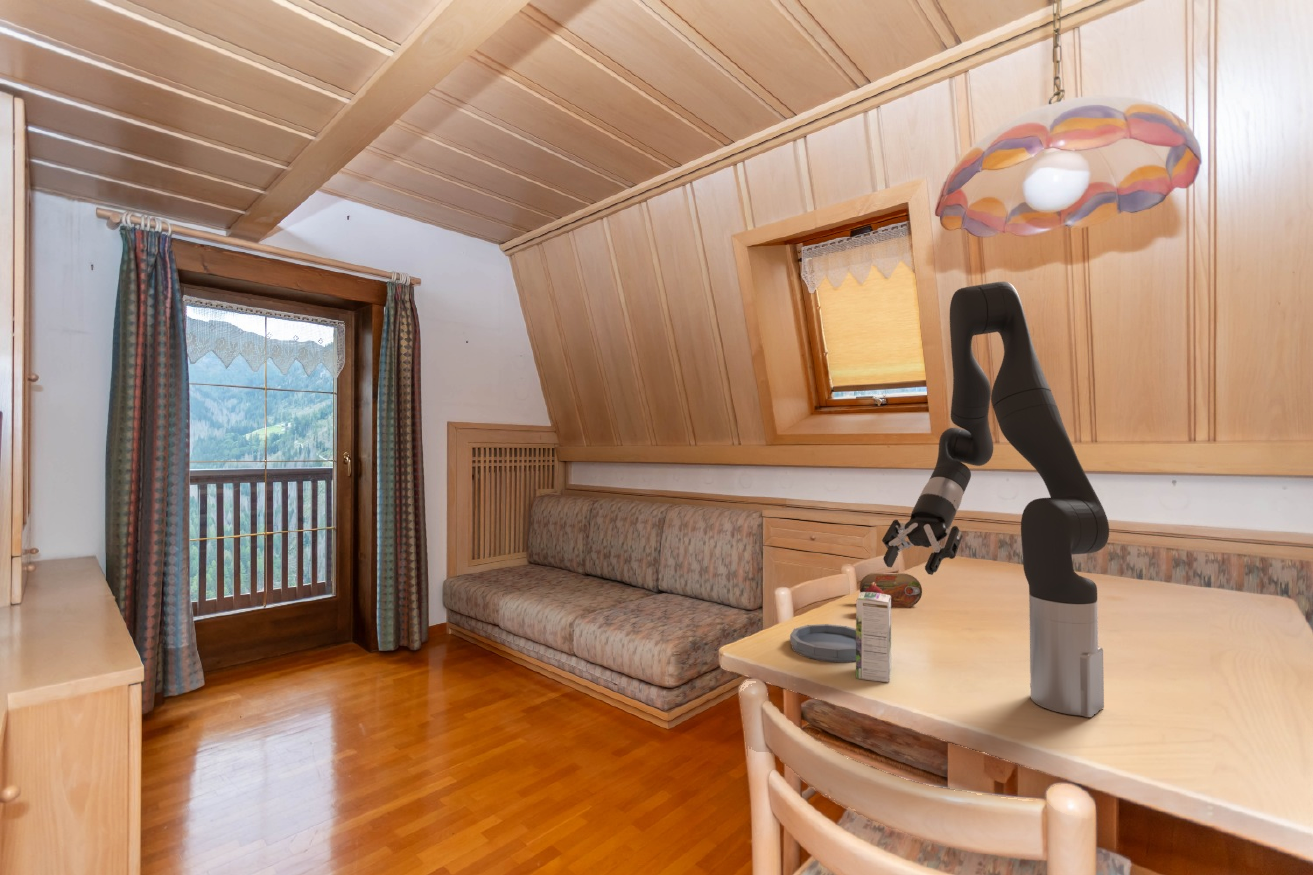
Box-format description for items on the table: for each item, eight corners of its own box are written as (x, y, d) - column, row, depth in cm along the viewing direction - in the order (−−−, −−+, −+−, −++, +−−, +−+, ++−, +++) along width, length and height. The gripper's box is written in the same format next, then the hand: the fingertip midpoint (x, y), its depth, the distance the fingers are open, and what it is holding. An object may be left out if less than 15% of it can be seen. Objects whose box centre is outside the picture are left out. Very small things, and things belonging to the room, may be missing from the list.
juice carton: (858, 667, 117) (857, 590, 117) (892, 672, 114) (891, 593, 114) (855, 678, 111) (854, 598, 111) (890, 683, 109) (889, 601, 109)
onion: (888, 619, 147) (888, 585, 147) (863, 618, 148) (862, 585, 148) (884, 612, 153) (884, 580, 153) (860, 611, 154) (859, 579, 154)
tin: (860, 606, 159) (860, 573, 159) (858, 603, 162) (858, 570, 162) (922, 608, 156) (922, 574, 156) (919, 604, 160) (919, 572, 160)
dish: (888, 649, 126) (888, 637, 126) (839, 668, 116) (839, 655, 116) (824, 631, 139) (824, 619, 139) (775, 646, 129) (775, 634, 129)
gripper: (898, 490, 131) (866, 551, 124) (965, 494, 119) (935, 562, 112) (912, 513, 134) (882, 574, 127) (979, 519, 123) (950, 586, 116)
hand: (907, 568), depth 120 cm, fingers open, 8 cm apart
